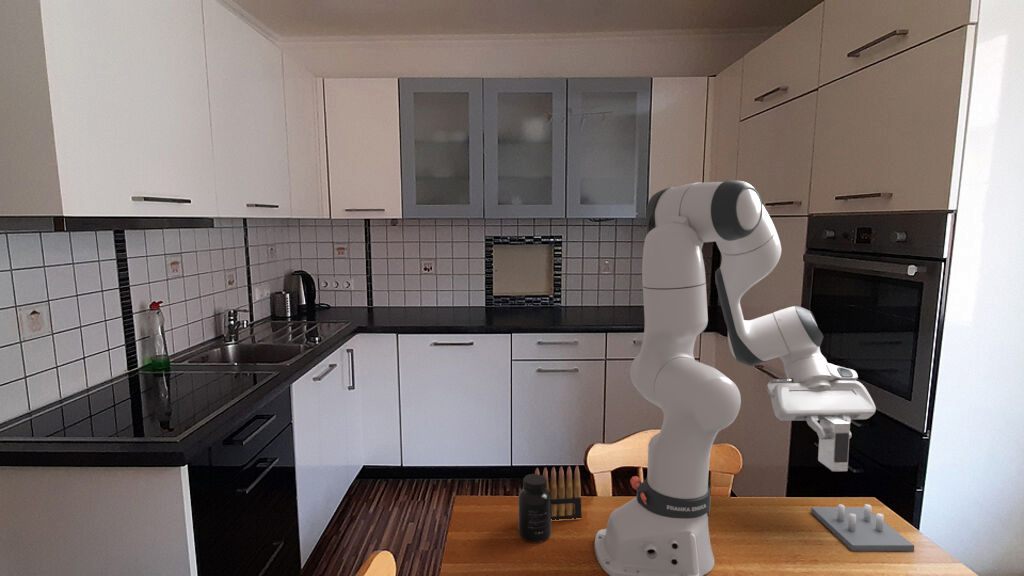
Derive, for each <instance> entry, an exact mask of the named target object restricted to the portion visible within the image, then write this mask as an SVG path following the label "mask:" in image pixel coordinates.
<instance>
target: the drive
mask: <svg viewBox="0 0 1024 576" xmlns="http://www.w3.org/2000/svg"><path fill="white" fill-rule="evenodd" d="M819 424H820V425H821V426H822V427H823V428H827V429H828V433H829V434H830V438H828V439H819V438H818V454H817V455H818V456H817V460H818V462H820V463H821V464H822V465H824V466H825V467H826V468H828V469H829V470H830V471H831V472H848V469H849V451H850V439H849V435H850V432H851V430H850V429H851V422H850V423H848V422H846V421H844V420H843V419H841V418H839V417H837V416H836V415H820V420H819Z"/></svg>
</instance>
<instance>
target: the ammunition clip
mask: <svg viewBox="0 0 1024 576" xmlns="http://www.w3.org/2000/svg"><path fill="white" fill-rule="evenodd" d="M548 473H549V472H548V469H547V467H544V469H543V473H542V476H544V477H545V478H546V481H547V490H548V491H549V492H550V494H551V519H552V520H555V519H556V520H559V519H572V518H574V519H576V518H582V519H583V516H582V512H583V511H582V496H581V489H582V486H581V476H580V475H581V473H580V469H579V465H576V466H575V469H574V473H572V468H571V466H570V465H568V466H567V470H566V478H565V474H564V469H563V466H560V467H559V471H558V482H557V472H556V468H555V466H553V467H552V468H551V472H550V481H549V475H548ZM534 474H539V475H541V474H540V470H539V468H538V467H536V469H535V471H534ZM573 474H574V476H573ZM549 482H550V484H549Z"/></svg>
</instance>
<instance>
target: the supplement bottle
mask: <svg viewBox="0 0 1024 576" xmlns="http://www.w3.org/2000/svg"><path fill="white" fill-rule="evenodd" d="M539 474H540V473H539ZM539 474H535V473H531V474H530V473H529V474H527V475H525V476H524V477H523V479H522V488H521V490H520V491H519V492H518V500H517V501H518V505H517V506H518V508H517V509H518V534H519V536H520V538H521V537H522V538H521V539H522V540H524V541H526V542H528V541H530V542H529V543H532V542H539V543H541V542H540V541H543V542H545V541H547V540H548V539H549V538H550V537H551V535H552V522H551V494H550V490H549V491H548V490H547V481H546V478H545V477H544V476H543V474H542V475H541V474H540V475H539ZM546 539H547V540H546ZM544 540H545V541H544Z"/></svg>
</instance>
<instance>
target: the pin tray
mask: <svg viewBox="0 0 1024 576" xmlns="http://www.w3.org/2000/svg"><path fill="white" fill-rule="evenodd" d="M810 509H811V510H810V513H811V514H812V515H813V517H815V518H816V519H817V520H818V521H819V522H820V523H822V524H823V525H824V526H825V527H826V528H827V529H828V530H829V531H830V532H831V533H832V534H834V536H835V537H837V539H839V540H840V542H842V543H843V544H844V545H845V546H846V547H847V548H848V549H849V550H851V551H852V552H915V544H914V543H912V542H911V541H910V540H909V539H907V538H906V537H904V536H903V535H902V534H900V533H899V532H898V531H896V530H895V529H894V528H893V527H892V526H890V525H889V524H888V523H887V522H885V521H884V517H885V516H884V514H883V513H880V512H879V513H878V512H877V513H876V514H875V513H873V512H872V505H871V504H867V503H865V504H864V507H863V506H862V507H859V506H858V507H855V506H852V507H851V506H850V507H847V506H846V505H845V504H842V503H839V504H837V506H833V507H832V506H831V507H830V506H827V507H825V506H824V507H820V506H819V507H818V506H816V507H815V506H814V507H813V506H812V507H811V508H810Z"/></svg>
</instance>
